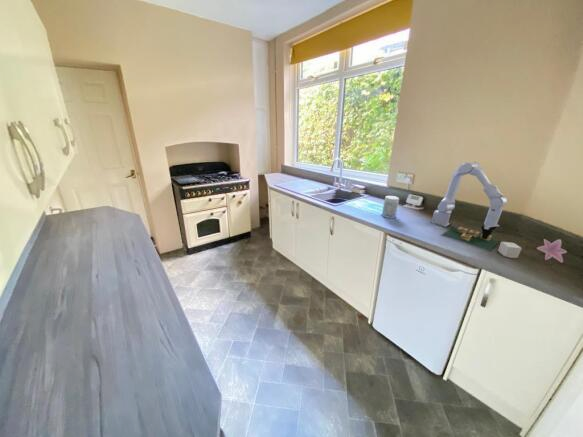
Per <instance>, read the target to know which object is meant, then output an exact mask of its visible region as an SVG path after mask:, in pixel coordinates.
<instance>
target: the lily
mask: <svg viewBox="0 0 583 437" xmlns="http://www.w3.org/2000/svg"><path fill="white" fill-rule="evenodd" d="M543 244H544V245H540V246H538V247H537V246H536V250H538V251H541V254H542V255H543V254H545V255H544V261H548V260H551V258H553V259H555V260H556V261H558V262H559V263H561V264H563V263H564V258H563V255H562V254H566V253H568V251H567V250H566V249H564V248H562V239H561V238H560V239H556V240H555V241H552V242H550V241H549V240H547V239H546V238H543Z"/></svg>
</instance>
